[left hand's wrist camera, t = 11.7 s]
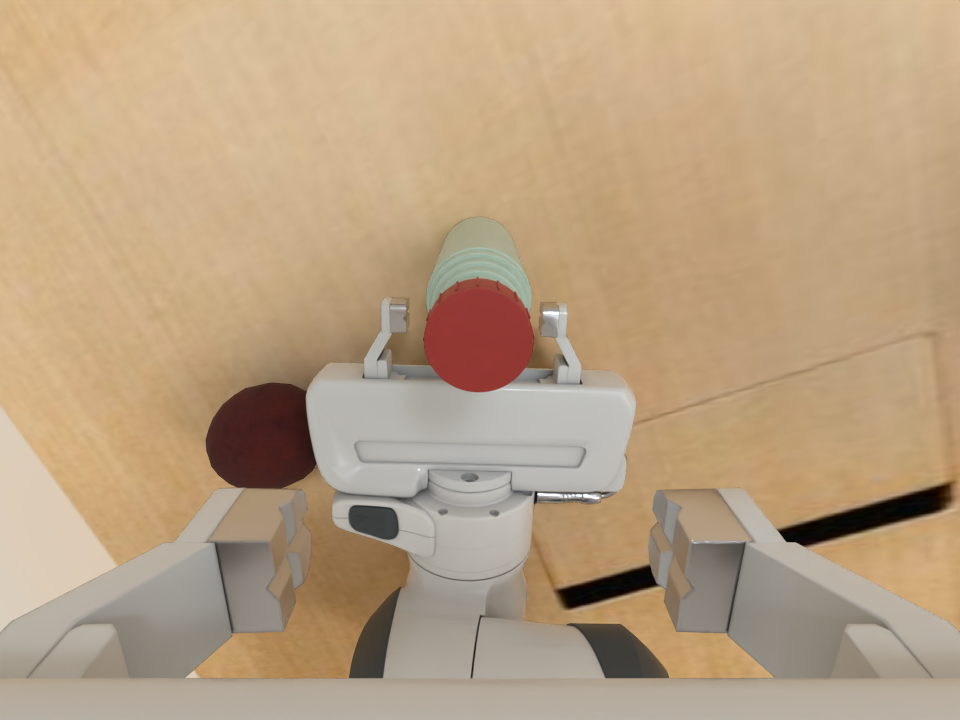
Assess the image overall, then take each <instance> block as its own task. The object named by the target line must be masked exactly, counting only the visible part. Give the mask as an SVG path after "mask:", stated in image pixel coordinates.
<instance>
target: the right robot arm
mask: <svg viewBox="0 0 960 720" xmlns="http://www.w3.org/2000/svg"><path fill="white" fill-rule="evenodd" d="M408 309H409V298H395V297H384V299H383V301H382V304H381V327H382V328H381V330H380V332H379V334H378V335H377V337H376V339H375V341H374V342H373V344H372V346H371V348H370V349H369V351H368V353H367V355H366V357H365V358H364V363H338V362H333V363H329V364H327V365H326V366H325V367H324V368H323V369H322V370H321V371H320V372H319V373H318V374H317V375H316V376H315V377H314V379H313V380H312V382H311V383H310V385H309V387H308V389H307V393H306V410H307V419H308V426H309V432H310V437H311V442H312V447H313V451H314V455H315V459H316V463H317V466H318V469H319V471H320V473H321V475H322V477H323V478H324V480H325V481H326V482H327V483H328V484H329V485H330V486H331V487H333V488H334V489H336V491H335V494H334V499H333V504H332V520H333V522H334V524H335V525H336V526H337V527H339V528H341V529H343V530H346V531H349V532H352V533H356V534H359V535H363V536H366V537H369V538H373V539H376V540H379V541H382V542H385V543H388V544H390V545H393V546H396V547H398V548H401V549H403V550H405V551H407V555H408V558H409V562H410V571H409V574H408V577H407V581H406V586H405V587H404V588H402V587H399V588H398V589H397V590H395V591H394V592H393V593H392V594H391V595H390V596H389V597H388V598H387V599H386V600H385V601H384V602H383V604H382V605H381V606H380V607H379V608H378V609H377V610H376V612H375V613H374V614H373V615H372V616H371V617H370V619H369V620H368V622H367V623H366V625H365V627H364V629H363V631H362V633H361V635H360V637H359V640H358V642H357V645H356V649H355V652H354V655H353V659H352V664H351V669H350V675H349V678H669V676H668V673H667V671H666V669H665V668H664V667H663V665H662V664H661V663H660V662H659V660H658V659H657V658H656V657H655V656H654V655H653V653H652V652H651V651H650V650H649V649H648V648H647V647H646V646H645V645H644V644H643V643H642V642H641V641H640V640H639V639H638V638H637V637H636V636H635V635H633V634H632V633H631V632H630V631H629V630H628V629H626V628H625V627H624V626H623V625H621V624H578V623H570V624H567V625H558V624H548V623H539V622H530V621H525V612H526V603H527V584H526V579H525V576H524V572H523V569H524V566H525V564H526V561H527V559H528V556H529V553H530V548H531V537H532V524H533V511H534V504H535V503H551V504H558V503H570V502H571V503H574V502H575V503H581V504H598V503H600V502H601V499H603V498H608V497H610V496H612V495H614V494H615V493H617V492H618V491H620V490H621V489H622V487H623V485H624V482H625V475H626V468H627V457H626V454H625V451H626V448H627V445H628V441H629V438H630V434H631V430H632V426H633V422H634V417H635V411H636V399H635V396H634V394H633V392H632V390H631V388H630V387H629V385H628V384H627V383H626V381H625V380H624V379H623V378H622V377H621V376H620V375H619V374H618V373H617V372H616V371H612V370H582V369H581V367H582V366H581V364H580V362H579V359H578V357H577V355H576V353H575V351H574V349H573V347H572V345H571V343H570V341H569V339H568V337H567V335H566V326H567V315H568V313H567V306H566V304H565V303H564V302H541V303H540V314H541V316H540V317H539V326H538V328H539V331H540V334H541V337H555V340H556V342H557V343H558V345H559V347H560V349H561V351H562V353H563V355H562V354H556V355H554V365H553V369H547V368H525V369H524V370H523V372H522V373H521V374H520V375H519V376H518V377H517V378H516V379H515V380H514V381H512V382H511V383H509V384H508V385H506V386H504V387H502V388H499V389H497V390H493V391H489V392H469V391H464V390H461V389H458V388H456V387H454V386H452V385H450V384H448V383H447V382H445V381H444V380H443V379H442V378H440V377H439V376H438V374H437V373H436V372H435V371H434V370H433V368H432V367H431V365H407V364H392V351H391V350H390V349H384V350H383V348H384V347H385V345H386V343H387V342H388V340H389V338H390V336H391V335H392V333H393V332H394V333H406V332H407V327H409V313H408ZM601 491H602V493H601Z"/></svg>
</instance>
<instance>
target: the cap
mask: <svg viewBox="0 0 960 720" xmlns="http://www.w3.org/2000/svg"><path fill="white" fill-rule="evenodd" d="M529 319H530V315H529V312H528V309H527V308H525V306H524V304H523V302H522V301H521V299H520V298H519V297H518V296H517V292H516V291H515V292H513V291H512V290H511V289H510V288H508V287H507V286H505V285H503V284H501V283H499V281H498V280H497V282H496V281H493V280H489V279H482V278H479V277H476V279H468V280H464V281H461V282H458V281H457V282H456V284H454V285H452V286H451V287H449V288H448V289H447V290H445V291H444V292H443V293H440V294H439V297H438V299H437V300H436V302H435V303H434V305H433V307H432V309H431V310H429V313H428V316H427V319H426V321H427V325H426V329H425V333H424V339H423V341H424V347H425V352H426V356H427V359H428V361H429V363H430V365H431V367H432V368H433V370H434V371H435V372H436V373H437V374H438V376H439V377H440V378H442V379H443V380H444V381H445V382H447V383H448V384H450V385H452V386H454V387H456V388H458V389H461V390H464V391H469V392H489V391H493V390H497V389H499V388H502V387H504V386H506V385H508V384H509V383H511V382H512V381H514V380H515V379H516V378H517V377H518V376H519V375H520V374H521V373H522V372H523V370H524V369H525V367H526V366H527V364H528V362H529V360H530V357H531V354H532V350H533V339H534V334H533V330H532V327H531V323H530V320H529Z"/></svg>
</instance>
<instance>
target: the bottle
mask: <svg viewBox="0 0 960 720" xmlns="http://www.w3.org/2000/svg"><path fill="white" fill-rule="evenodd" d="M476 277H479V278H482V279H489V280H493V281H496V282H497V280H498V281H499V283H501V284H503V285H505V286H507V287H508V288H510V289H511V290H512V291H513V292H515V291H516V292H517V296H518V297H519V298H520V299H521V301H522V302H523V304H524V306H525V308H527V309H528V312H529V313H530V310H531V303H532V294H531V288H530V284H529V281H528V278H527V276H526V273H525V270H524V268H523V265H522V263H521V260H520V257H519V255H518V252H517V250H516V247H515V244H514V242H513V239H512V237H511V235H510V234H509V232H508V231H507V230H506V228H505V227H504V226H502V225H501V224H500V223H498V222H496V221H495V220H492V219H489V218H485V217H473V218H469V219H466V220H463V221H461V222H460V223H458V224H457V225H456V226H454V227H453V229H452V230H451V231H450V232H449V234H448V235H447V237H446V239H445V242H444V244H443V247H442V249H441V252H440V254H439V257H438V260H437V262H436V265H435V267H434V270H433V272H432V275H431V278H430V280H429V283H428V287H427V291H426V305H427V311H428V313H429V310H431V309H432V307H433V305H434V303H435V302H436V300H437V299H438V297H439V294H440V293H443V292H444V291H445V290H447V289H448V288H449V287H451V286H452V285H454V284H456V282H457V281H458V282H461V281H464V280H468V279H476Z"/></svg>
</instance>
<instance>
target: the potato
mask: <svg viewBox="0 0 960 720" xmlns="http://www.w3.org/2000/svg"><path fill="white" fill-rule="evenodd" d="M306 393H307V392H306V391H304V390H302V389H300V388H298V387H296V386H294V385H291V384H281V383H267V384H263V385H258V386H254V387H249V388H245V389H243V390H242V391H240V392H239V393H237V394H236V395H234V396H233V397H232V398H230V399H229V400H228V401H227V402H225V403H224V404H223V405H222V406H221V408H220V409H219V411H218V412H217V413H216V415H215V416H214V418H213V420H212V422H211V425H210V427H209V430H208V434H207V437H206V451H207V454H208V457H209V460H210V463H211V466H212V468H213V469H214V470H215V472H216V473H217V474H218V475H219V476H220V477H221V478H223V479H224V480H225V481H226V482H228V483H229V484H231V485H233V486H235V487H238V488H247V489H248V488H272V489H281V488H283V487H286V486H288V485H290V484H293V483H295V482H297V481H299V480H301V479H304V478H305V477H306V476H307V475H308V474H309V473H310V472H311V471H312V470H313V469H314V467H315V465H316V464H317V463H316V459H315V455H314V451H313V447H312V442H311V437H310V432H309V426H308V419H307V410H306Z"/></svg>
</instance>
